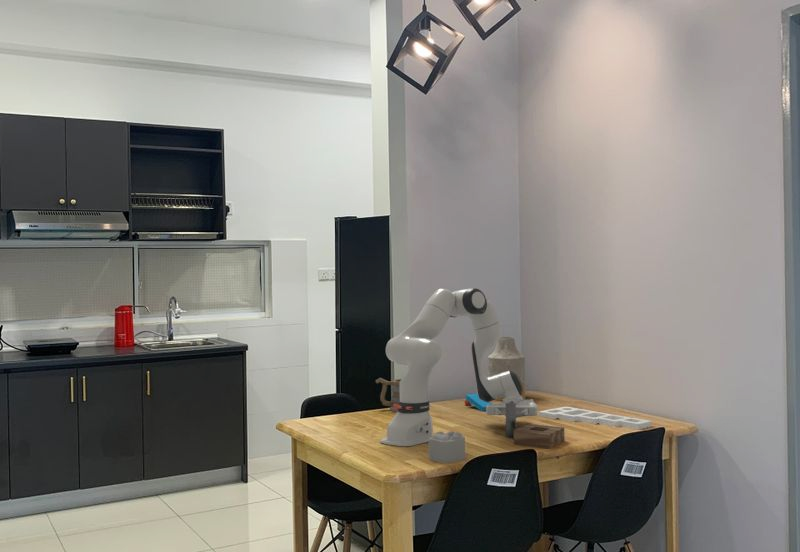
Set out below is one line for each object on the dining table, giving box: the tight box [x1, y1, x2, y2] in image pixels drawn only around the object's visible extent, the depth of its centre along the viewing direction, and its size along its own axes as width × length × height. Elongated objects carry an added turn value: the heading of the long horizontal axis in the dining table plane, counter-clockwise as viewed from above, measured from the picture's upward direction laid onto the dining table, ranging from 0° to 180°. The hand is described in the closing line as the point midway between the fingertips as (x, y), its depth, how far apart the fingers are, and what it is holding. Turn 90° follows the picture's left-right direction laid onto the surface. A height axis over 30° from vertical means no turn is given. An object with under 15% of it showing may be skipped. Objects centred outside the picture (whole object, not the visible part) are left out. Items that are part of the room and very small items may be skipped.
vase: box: [487, 336, 526, 402], centre depth 377 cm, size 18×18×30 cm
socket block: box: [513, 423, 566, 449], centre depth 278 cm, size 14×14×5 cm
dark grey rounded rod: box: [505, 403, 517, 439], centre depth 288 cm, size 4×4×13 cm
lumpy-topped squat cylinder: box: [428, 430, 466, 464], centre depth 258 cm, size 10×13×9 cm
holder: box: [538, 406, 653, 431], centre depth 314 cm, size 45×18×3 cm, turn 36°
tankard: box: [375, 377, 402, 413], centre depth 350 cm, size 20×13×15 cm, turn 74°
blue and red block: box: [464, 392, 492, 412], centre depth 351 cm, size 7×7×18 cm
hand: (511, 413), depth 292 cm, fingers open, 8 cm apart
